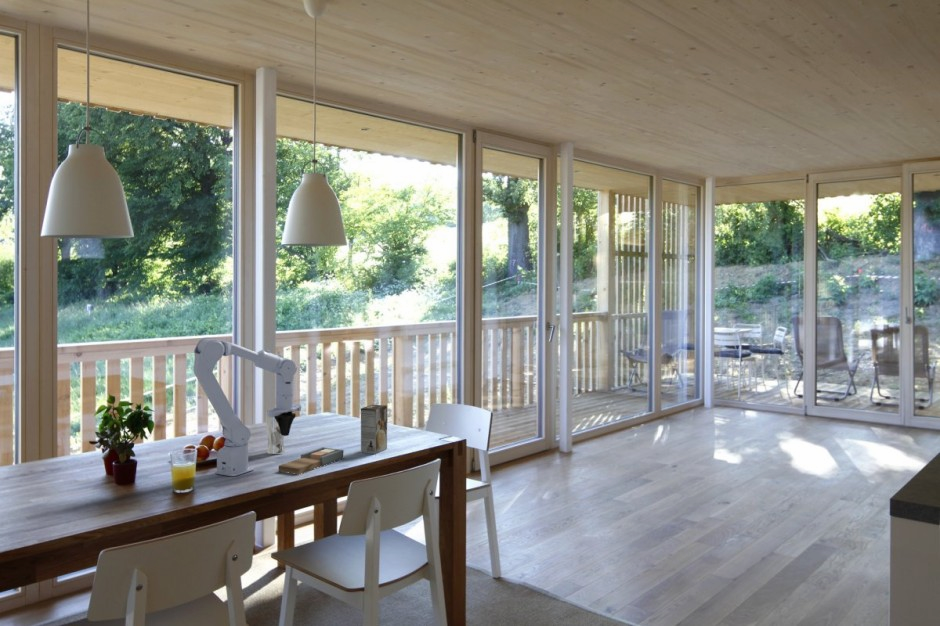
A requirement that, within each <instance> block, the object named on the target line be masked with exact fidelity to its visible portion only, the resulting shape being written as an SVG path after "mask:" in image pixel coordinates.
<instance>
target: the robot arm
mask: <svg viewBox="0 0 940 626" xmlns="http://www.w3.org/2000/svg"><path fill="white" fill-rule="evenodd" d="M193 353H194V361H193V373H194V375H195V377H196V379H197V381H198V382H199V384H200V386H201V387H202V390H203V393H204V394H205V395H206V397H207V399H208V401H209V402H210V404H211V406H212V408H213V409H214V411H215V414H216V415H217V417H218V419H219V423H220V425H221V429H222V430H221V431H222V435H223V437H224V438H225V440H224V445H223V446H222V447H221V448H219V449H218V451H217V453H216V471H215V472H214V474H216V475H222V476H229V477H237V476H240V475H243V474H246V473H249V472H251V471H255V468H254V467H249V440H250V438H251V430H250V428H249V427H248V426H246V425H245V424H243V421H242V420H241V419H240V418H239V416H238V415H237V414H236V412H235V411H234V409H233V407H232V405H231V403H230V401H229V400H228V398H227V396H226V394H225V392H224V390H223V388H222V387H221V385H220V383H219V382H218V379H217V377H216V376H215V374H214V372H213V371H214V369H215V366H216V364H217V363H218V362H219V361H220V360H221V358H222V357H228V356H231V355H233V356H236V357H238V358H241V359H245V360H249V361H252V362H253V364H254V366H255V367H256V368H259V369H262V370H265V371H268V372H271V373H275V379H276V380H275V408H272V409H269V410H270V411H268V410H267V411H268V417H274V418H275V419H276V421H277V423H278V425H279V428H280V432H281V435H282V436H284V437H287V436H290V431H291V428H292V424H293V422H294V420H295V419H296V417H297V415H296V413H294V412H298V411H299V412H300V411H302V404H296V403H295V397H294V395H295V392H294V391H295V389H294V388H295V380H294V377H295V374H296V372H297V370H298V368H297V366H296V363H295V362H294V361H293V360H292V359H290V358H289V359H288V358H285V357H284V356H283V355H282V354H279V355H277V354H275V353H272V352H271V350H269V349H264V350H263V349H260V350H258V351H254V350H252V349H249V348H246V347H244V346H242V345H238V344H236V343H235V342H231V341H225V340H220V339H213V338H211V337H203V338H201V339H200V340H199V341H198V342H197V344H196V346H195V348H194V350H193Z"/></svg>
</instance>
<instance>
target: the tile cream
mask: <svg viewBox="0 0 940 626" xmlns="http://www.w3.org/2000/svg"><path fill="white" fill-rule="evenodd" d="M331 449H332V448H331ZM331 449H324V450H321V451H319V452H325V453H327V454H330V453H333V452H335V450H331Z"/></svg>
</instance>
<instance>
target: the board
mask: <svg viewBox="0 0 940 626" xmlns="http://www.w3.org/2000/svg"><path fill="white" fill-rule="evenodd" d="M320 466H322V460H315V459H308V458H301V457H300V458H298V459H293V460H291V461H289V462H286V463H282V464H280V465H278V472H279V471H282V472H281V473H283V472H289V473H295V474H294V475H296V474H300V475H302V474H305V473H307V472H306V471H308V472H310V471H309V470H311V471H313V470H315V469H314V468H316V469H318V468H317V467H319V468H321V467H320ZM322 467H323V466H322ZM312 469H313V470H312ZM304 472H305V473H304ZM289 473H288V474H289ZM301 473H302V474H301Z"/></svg>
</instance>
